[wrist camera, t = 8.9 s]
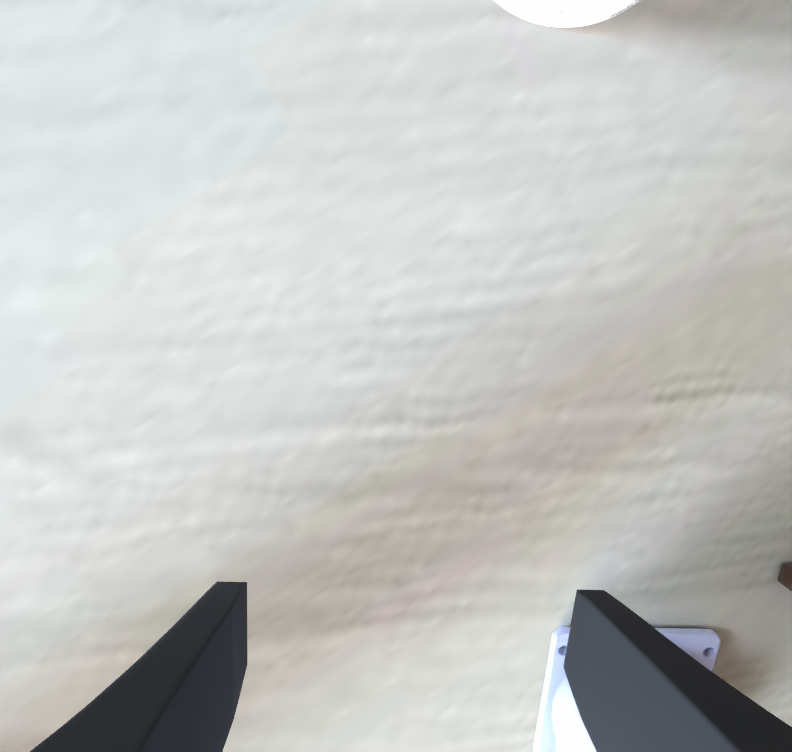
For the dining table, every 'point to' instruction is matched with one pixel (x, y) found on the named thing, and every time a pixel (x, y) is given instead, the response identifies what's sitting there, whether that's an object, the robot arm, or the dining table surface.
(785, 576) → the walnut bay
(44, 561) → the dining table surface
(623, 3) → the teacup with lid
